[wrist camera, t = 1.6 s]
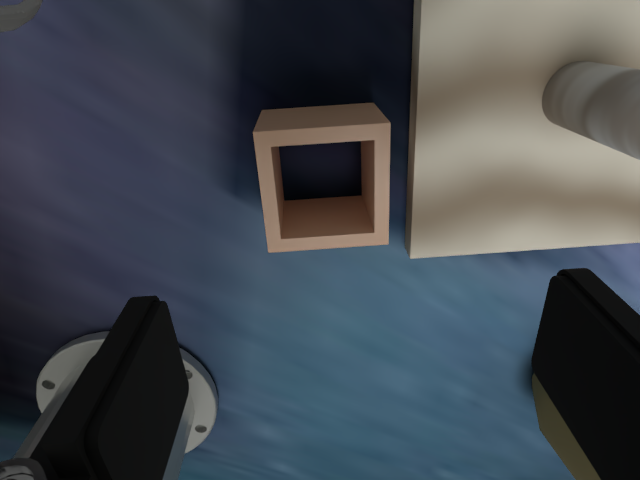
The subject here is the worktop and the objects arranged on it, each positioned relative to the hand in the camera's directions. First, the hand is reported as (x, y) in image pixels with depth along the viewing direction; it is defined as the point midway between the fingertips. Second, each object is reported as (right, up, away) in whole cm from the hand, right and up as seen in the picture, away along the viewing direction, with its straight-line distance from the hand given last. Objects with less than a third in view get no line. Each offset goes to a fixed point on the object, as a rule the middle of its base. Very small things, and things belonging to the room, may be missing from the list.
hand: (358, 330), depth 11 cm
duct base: (+12, +10, +13) cm, 20 cm away
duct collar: (-1, +7, +14) cm, 15 cm away
